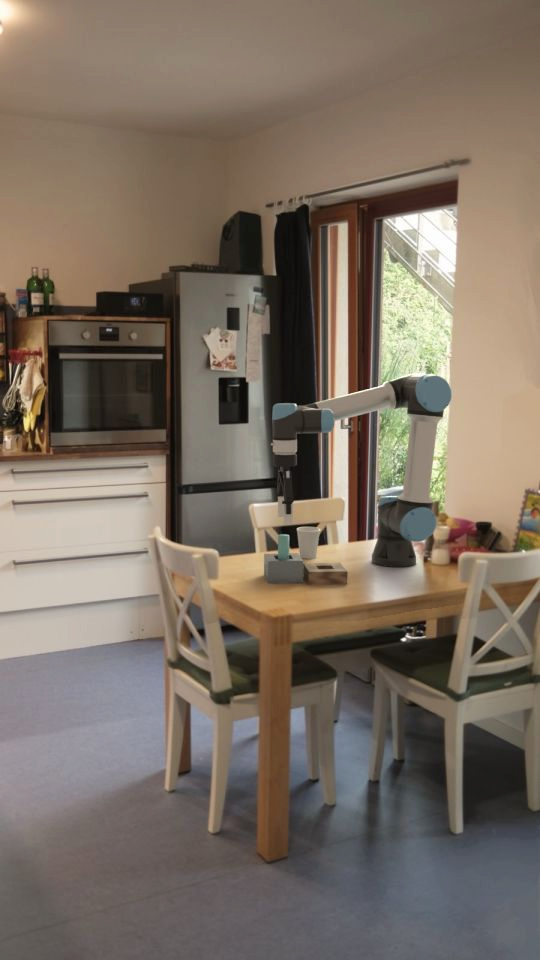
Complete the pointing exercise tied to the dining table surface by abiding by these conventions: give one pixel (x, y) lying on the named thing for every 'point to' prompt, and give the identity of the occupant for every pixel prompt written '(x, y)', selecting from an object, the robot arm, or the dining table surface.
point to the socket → (283, 568)
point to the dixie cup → (308, 541)
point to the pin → (283, 546)
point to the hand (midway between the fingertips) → (285, 520)
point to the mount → (324, 573)
